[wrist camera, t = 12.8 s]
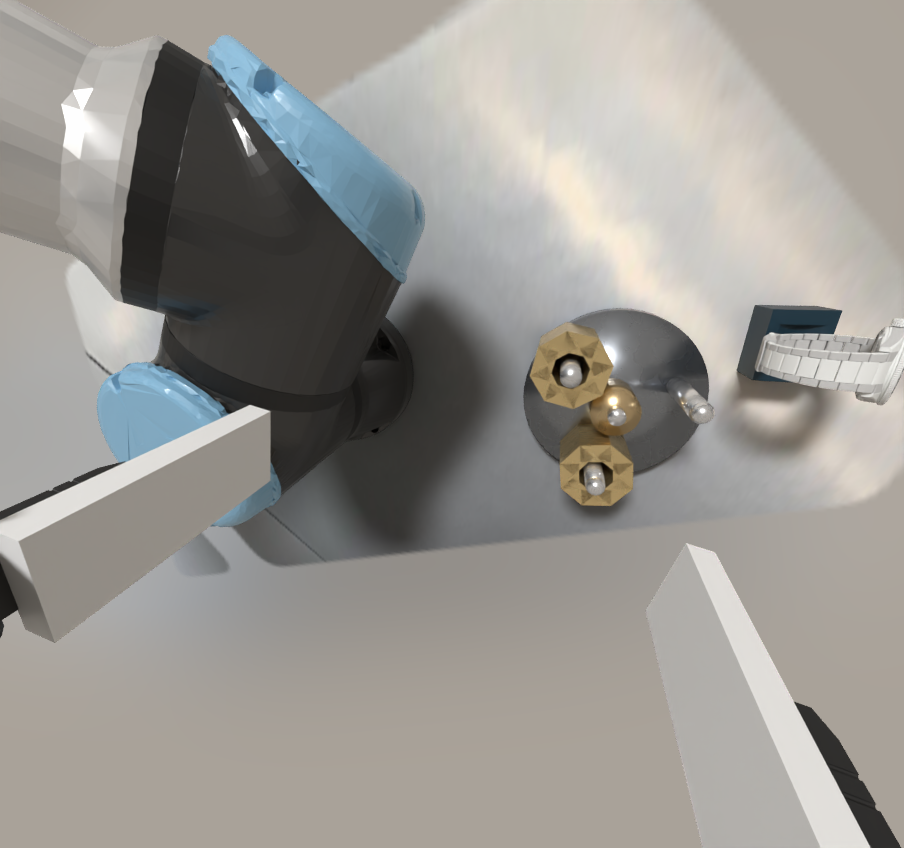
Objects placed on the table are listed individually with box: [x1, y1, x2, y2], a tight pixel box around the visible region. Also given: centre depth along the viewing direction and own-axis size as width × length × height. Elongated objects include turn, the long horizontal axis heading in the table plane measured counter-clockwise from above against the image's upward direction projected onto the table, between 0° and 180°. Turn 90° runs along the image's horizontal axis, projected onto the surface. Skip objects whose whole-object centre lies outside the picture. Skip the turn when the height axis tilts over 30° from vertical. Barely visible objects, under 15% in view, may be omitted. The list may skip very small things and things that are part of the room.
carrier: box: [524, 308, 715, 495], centre depth 34 cm, size 16×16×9 cm
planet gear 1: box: [530, 322, 614, 409], centre depth 34 cm, size 6×6×5 cm
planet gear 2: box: [560, 424, 633, 506], centre depth 37 cm, size 6×6×5 cm
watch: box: [737, 305, 904, 405], centre depth 28 cm, size 6×8×11 cm
